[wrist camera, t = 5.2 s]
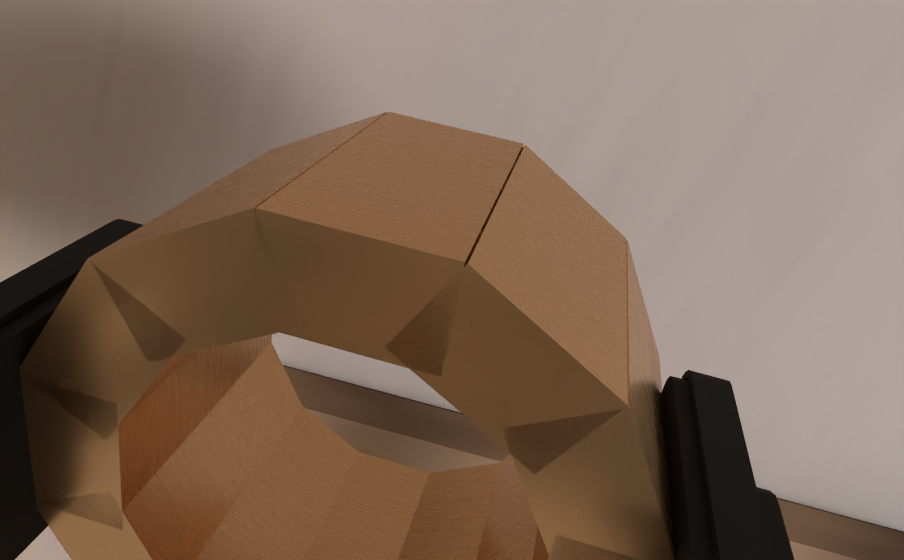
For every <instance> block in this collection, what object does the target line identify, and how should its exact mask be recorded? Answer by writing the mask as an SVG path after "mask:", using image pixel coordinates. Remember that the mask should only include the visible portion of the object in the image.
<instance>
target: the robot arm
mask: <svg viewBox="0 0 904 560" xmlns="http://www.w3.org/2000/svg"><path fill="white" fill-rule="evenodd" d="M142 226H143V225H141V224H138V223H134V222H130V221H126V220H122V219H117V220H114V221H112V222H110V223H108V224H106V225H105V226H103V227H101V228H99V229H97V230H95V231H94V232H92V233H90V234H88V235H86V236H84V237H83V238H81V239H79V240H77V241H75V242H73V243H72V244H70V245H68V246H66V247H64V248H63V249H61V250H59V251H57V252H55V253H53V254H52V255H50V256H48V257H46V258H44V259H42V260H41V261H39V262H37V263H35V264H33V265H31V266H30V267H28V268H26V269H24V270H22V271H20V272H19V273H17V274H15V275H13V276H11V277H9V278H8V279H6V280H4V281H2V282H0V560H15V559H16V558H17V557H18V556H19V555H20V554H21V553H22V552H23V551H24V550H25V549H26V548H27V547H28V546H29V545H30V544H31V543H32V541H33V540H34V539H35V538H36V537H37V536H38V535H39V534H40V533H41V532H42V531H43V530H44V529H45V528H46V527H47V526H48V524H47V523H46V521H45V520H44V518H43V517H42V515H41V514H40V512H39V511H38V509H37V504H36V496H35V488H34V480H33V472H32V464H31V456H30V448H29V440H28V432H27V424H26V415H25V407H24V399H23V391H22V383H21V375H20V366H21V364H22V362H23V361H24V359H25V358H26V356H27V354H28V353H29V351H30V350H31V348H32V346H33V345H34V343H35V342H36V340H37V338H38V337H39V335H40V334H41V332H42V330H43V329H44V327H45V326H46V324H47V322H48V321H49V319H50V318H51V316H52V314H53V313H54V311H55V310H56V308H57V307H58V305H59V303H60V302H61V300H62V299H63V297H64V295H65V294H66V292H67V291H68V289H69V287H70V286H71V284H72V283H73V281H74V279H75V278H76V276H77V275H78V273H79V271H80V270H81V268H82V267H83V265H84V263H85V262H86V260H87V259H88V258H89V257H91V256H93V255H94V254H96V253H98V252H99V251H101V250H103V249H104V248H106V247H108V246H110V245H111V244H113V243H115V242H116V241H118V240H120V239H121V238H123V237H125V236H126V235H128V234H130V233H132V232H133V231H135V230H137V229H138V228H140V227H142ZM661 396H662V408H663V420H664V432H665V444H666V456H667V468H668V480H669V492H670V504H671V516H672V528H673V540H674V552H675V560H794V556H793V553H792V549H791V545H790V542H789V538H788V535H787V531H786V527H785V524H784V520H783V516H782V513H781V509H780V506H779V503H778V500H777V498H776V496H775V495H774V494H773V493H772V492H771V491H769V490H765V489H761V488H758V487H756V484H755V480H754V476H753V472H752V468H751V463H750V459H749V455H748V451H747V447H746V443H745V439H744V435H743V430H742V426H741V422H740V418H739V414H738V410H737V406H736V402H735V397H734V393H733V389H732V385H731V383H730V381H727V380H724V379H720V378H716V377H712V376H709V375H705V374H701V373H697V372H694V371H690V370H688V371H686V372H685V373H684V375H683V376H682V378H681V379H680V378H676V377H672V376H670V377H669V378H668V379H667V381H666V383H665V385H664V388H663V390H662V393H661Z"/></svg>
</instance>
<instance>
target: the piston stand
mask: <svg viewBox="0 0 904 560" xmlns="http://www.w3.org/2000/svg"><path fill="white" fill-rule="evenodd" d="M283 367H284V369H285V371H286V373H287V375H288V378H289V380H290V382H291V384H292V386H293V388H294V390H295V392H296V394H297V396H298V398H299V400H300V402H301V404H302V406H303V407H304V408H306V409H307V410H308V411H309V412H311V413H312V414H313V415H314V416H315V417H317V418H318V419H319V420H320V421H322V422H323V423H324V424H325V425H327V426H328V427H329V428H330V429H331V430H333V431H334V432H335V433H336V434H338V435H339V436H340V437H341V438H342V439H344V440H345V441H346V442H347V443H349V444H350V445H351V446H352V447H353V448H355V449H356V450H357V451H358V452H361V453H364V454H367V455H371V456H374V457H378V458H381V459H384V460H388V461H391V462H395V463H398V464H401V465H405V466H408V467H412V468H415V469H418V470H422V471H425V472H429V473H431V472H438V471H445V470H452V469H459V468H466V467H473V466H480V465H487V464H494V463H500V462H501V461H502V460H504V459H505V458H506V457H507V456H509V455H510V453H508V452H507V451H506V450H505V449H504V448H503V447H501V446H500V445H499V444H498V443H497V442H495V441H494V440H493V439H492V438H491V437H490V436H488V435H487V434H486V433H485V432H484V431H483V430H481V429H480V428H479V427H478V426H477V425H475V424H474V423H473V422H472V421H471V420H470V419H468V418H467V417H466V416H465V415H464V414H460V413H456V412H453V411H449V410H445V409H441V408H438V407H434V406H430V405H426V404H423V403H419V402H415V401H412V400H408V399H404V398H400V397H397V396H393V395H389V394H386V393H382V392H378V391H374V390H371V389H367V388H363V387H359V386H356V385H352V384H348V383H345V382H341V381H337V380H333V379H330V378H326V377H322V376H319V375H315V374H311V373H307V372H304V371H300V370H296V369H293V368H289V367H285V366H283ZM777 500H778V503H779V506H780V509H781V513H782V516H783V520H784V524H785V527H786V531H787V535H788V538H789V542H790V545H791V549H792V553H793V556H794V560H904V533H903V532H899V531H895V530H892V529H888V528H884V527H880V526H877V525H873V524H869V523H865V522H862V521H858V520H854V519H851V518H847V517H843V516H839V515H836V514H832V513H828V512H825V511H821V510H817V509H813V508H810V507H806V506H802V505H799V504H795V503H791V502H787V501H784V500H780V499H777Z"/></svg>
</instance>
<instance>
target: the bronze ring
mask: <svg viewBox="0 0 904 560" xmlns="http://www.w3.org/2000/svg"><path fill="white" fill-rule="evenodd" d="M279 332H280V333H284V334H288V335H291V336H295V337H298V338H302V339H306V340H309V341H313V342H316V343H320V344H323V345H327V346H331V347H334V348H338V349H341V350H345V351H349V352H352V353H356V354H359V355H363V356H367V357H370V358H374V359H377V360H381V361H385V362H388V363H392V364H395V365H399V366H403V367H406V368H409V369H411V370H412V371H413V372H414V373H415V374H416V375H418V376H419V377H420V378H421V379H422V380H424V381H425V382H426V383H427V384H428V385H429V386H431V387H432V388H433V389H434V390H435V391H437V392H438V393H439V394H440V395H441V396H442V397H444V398H445V399H446V400H447V401H448V402H449V403H451V404H452V405H453V406H454V407H455V408H457V409H458V410H459V411H460V412H461V413H462V414H464V415H465V416H466V417H467V418H468V419H470V420H471V421H472V422H473V423H474V424H475V425H477V426H478V427H479V428H480V429H481V430H483V431H484V432H485V433H486V434H487V435H488V436H490V437H491V438H492V439H493V440H494V441H495V442H497V443H498V444H499V445H500V446H501V447H503V448H504V449H505V450H506V451H507V452H508V453H510V455H509V456H507V457H506V458H505V459H504V460H502V461H501V462H500V463H494V464H487V465H480V466H473V467H466V468H459V469H452V470H445V471H438V472H431V473H429V472H425V471H422V470H418V469H415V468H412V467H408V466H405V465H401V464H398V463H395V462H391V461H388V460H384V459H381V458H378V457H374V456H371V455H367V454H364V453H361V452H358V451H357V450H356V449H355V448H353V447H352V446H351V445H350V444H349V443H347V442H346V441H345V440H344V439H342V438H341V437H340V436H339V435H338V434H336V433H335V432H334V431H333V430H331V429H330V428H329V427H328V426H327V425H325V424H324V423H323V422H322V421H320V420H319V419H318V418H317V417H315V416H314V415H313V414H312V413H311V412H309V411H308V410H307V409H306V408H304V407H303V406H302V404H301V402H300V400H299V398H298V396H297V394H296V392H295V390H294V388H293V386H292V384H291V382H290V380H289V378H288V375H287V373H286V371H285V369H284V367H283V365H282V363H281V361H280V359H279V357H278V355H277V353H276V351H275V349H274V347H273V345H272V343H271V338H272V334H274V333H279ZM20 375H21V383H22V391H23V399H24V407H25V415H26V424H27V432H28V440H29V448H30V456H31V464H32V472H33V480H34V488H35V496H36V504H37V509H38V511H39V512H40V514H41V515H42V517H43V518H44V520H45V521H46V523H47V524H48V526H49V527H50V529H51V530H52V531H53V533H54V534H55V536H56V537H57V539H58V540H59V542H60V543H61V545H62V546H63V548H64V549H65V551H66V552H67V554H68V555H69V556H70V558H71V559H72V560H675V552H674V540H673V528H672V516H671V504H670V492H669V480H668V468H667V456H666V444H665V432H664V420H663V408H662V396H661V393H662V384H661V373H660V361H659V355H658V351H657V347H656V344H655V340H654V336H653V333H652V329H651V325H650V322H649V318H648V314H647V311H646V307H645V303H644V299H643V296H642V292H641V288H640V285H639V281H638V277H637V274H636V270H635V266H634V263H633V259H632V255H631V252H630V248H629V244H628V241H627V240H626V238H625V237H624V236H623V235H622V234H621V233H620V232H619V231H618V230H617V229H615V228H614V227H613V226H612V225H611V224H610V223H609V222H608V221H607V220H606V219H605V218H604V217H603V216H601V215H600V214H599V213H598V212H597V211H596V210H595V209H594V208H593V207H592V206H591V205H590V204H589V203H587V202H586V201H585V200H584V199H583V198H582V197H581V196H580V195H579V194H578V193H577V192H576V191H575V190H573V189H572V188H571V187H570V186H569V185H568V184H567V183H566V182H565V181H564V180H563V179H562V178H561V177H559V176H558V175H557V174H556V173H555V172H554V171H553V170H552V169H551V168H550V167H549V166H548V165H547V164H546V163H544V162H543V161H542V160H541V159H540V158H539V157H538V156H537V155H536V154H535V153H534V152H533V151H532V150H530V149H529V148H528V147H527V146H526V145H525V146H524V147H523V144H522V143H518V142H514V141H510V140H506V139H501V138H497V137H493V136H489V135H484V134H480V133H476V132H472V131H468V130H463V129H459V128H455V127H451V126H446V125H442V124H438V123H434V122H430V121H425V120H421V119H417V118H413V117H408V116H404V115H400V114H396V113H392V112H388V113H387V112H385V113H382V114H379V115H376V116H373V117H370V118H367V119H364V120H361V121H358V122H355V123H351V124H348V125H345V126H342V127H339V128H336V129H333V130H330V131H327V132H324V133H321V134H318V135H315V136H312V137H309V138H306V139H303V140H300V141H297V142H294V143H291V144H288V145H285V146H282V147H279V148H276V149H273V150H270V151H268V152H267V153H265V154H263V155H262V156H260V157H258V158H257V159H255V160H253V161H252V162H250V163H248V164H246V165H245V166H243V167H241V168H240V169H238V170H236V171H235V172H233V173H231V174H230V175H228V176H226V177H225V178H223V179H221V180H219V181H218V182H216V183H214V184H213V185H211V186H209V187H208V188H206V189H204V190H203V191H201V192H199V193H197V194H196V195H194V196H192V197H191V198H189V199H187V200H186V201H184V202H182V203H181V204H179V205H177V206H175V207H174V208H172V209H170V210H169V211H167V212H165V213H164V214H162V215H160V216H159V217H157V218H155V219H154V220H152V221H150V222H148V223H147V224H145V225H143V226H142V227H140V228H138V229H137V230H135V231H133V232H132V233H130V234H128V235H126V236H125V237H123V238H121V239H120V240H118V241H116V242H115V243H113V244H111V245H110V246H108V247H106V248H104V249H103V250H101V251H99V252H98V253H96V254H94V255H93V256H91V257H89V258H88V259H87V260H86V262H85V263H84V265H83V267H82V268H81V270H80V271H79V273H78V275H77V276H76V278H75V279H74V281H73V283H72V284H71V286H70V287H69V289H68V291H67V292H66V294H65V295H64V297H63V299H62V300H61V302H60V303H59V305H58V307H57V308H56V310H55V311H54V313H53V314H52V316H51V318H50V319H49V321H48V322H47V324H46V326H45V327H44V329H43V330H42V332H41V334H40V335H39V337H38V338H37V340H36V342H35V343H34V345H33V346H32V348H31V350H30V351H29V353H28V354H27V356H26V358H25V359H24V361H23V362H22V364H21V366H20Z"/></svg>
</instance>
